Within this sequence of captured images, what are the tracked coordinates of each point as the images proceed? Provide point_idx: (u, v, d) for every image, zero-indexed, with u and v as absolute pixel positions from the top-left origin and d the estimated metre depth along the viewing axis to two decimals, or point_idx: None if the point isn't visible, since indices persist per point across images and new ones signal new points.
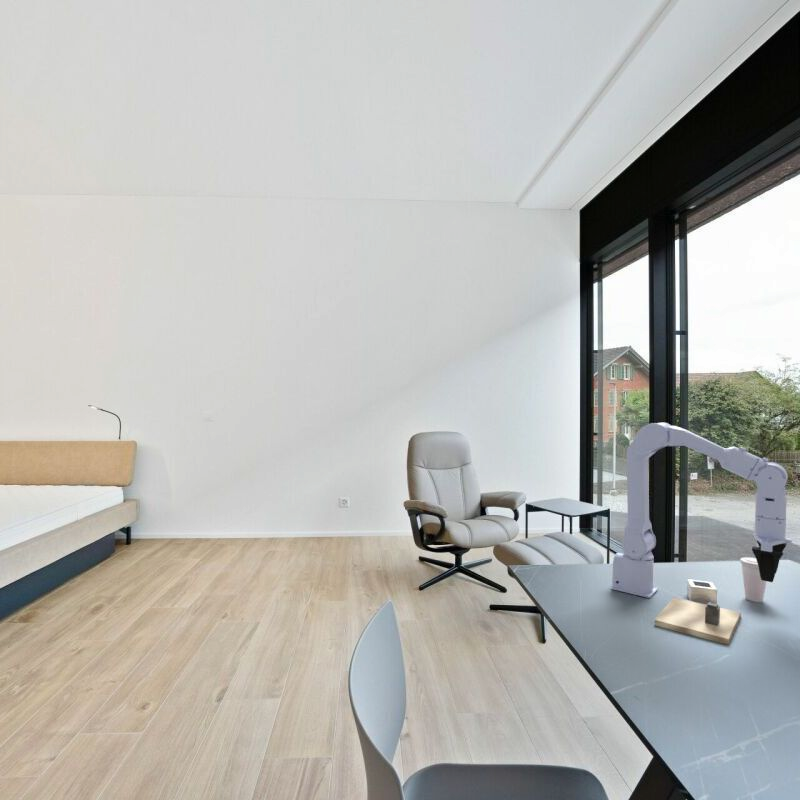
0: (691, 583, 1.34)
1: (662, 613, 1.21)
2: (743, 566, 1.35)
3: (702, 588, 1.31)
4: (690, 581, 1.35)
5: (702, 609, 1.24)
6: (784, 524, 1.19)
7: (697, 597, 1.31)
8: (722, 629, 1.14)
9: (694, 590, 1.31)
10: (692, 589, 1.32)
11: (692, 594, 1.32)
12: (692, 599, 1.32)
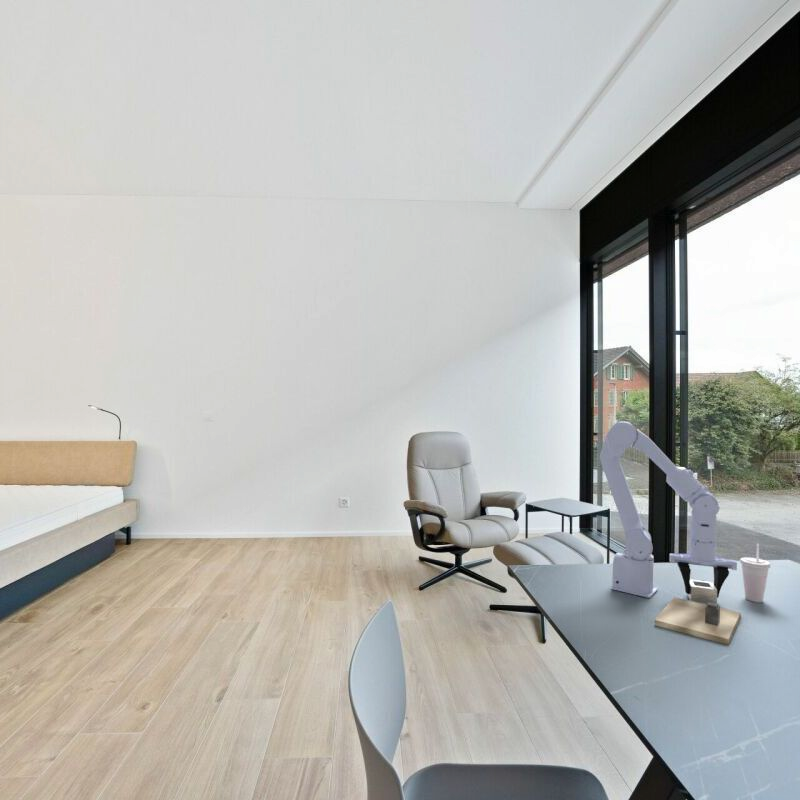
0: (691, 583, 1.34)
1: (662, 613, 1.21)
2: (743, 566, 1.35)
3: (702, 588, 1.31)
4: (690, 581, 1.35)
5: (702, 609, 1.24)
6: (701, 547, 1.31)
7: (697, 597, 1.31)
8: (722, 629, 1.14)
9: (694, 590, 1.31)
10: (692, 589, 1.32)
11: (692, 594, 1.32)
12: (692, 599, 1.32)
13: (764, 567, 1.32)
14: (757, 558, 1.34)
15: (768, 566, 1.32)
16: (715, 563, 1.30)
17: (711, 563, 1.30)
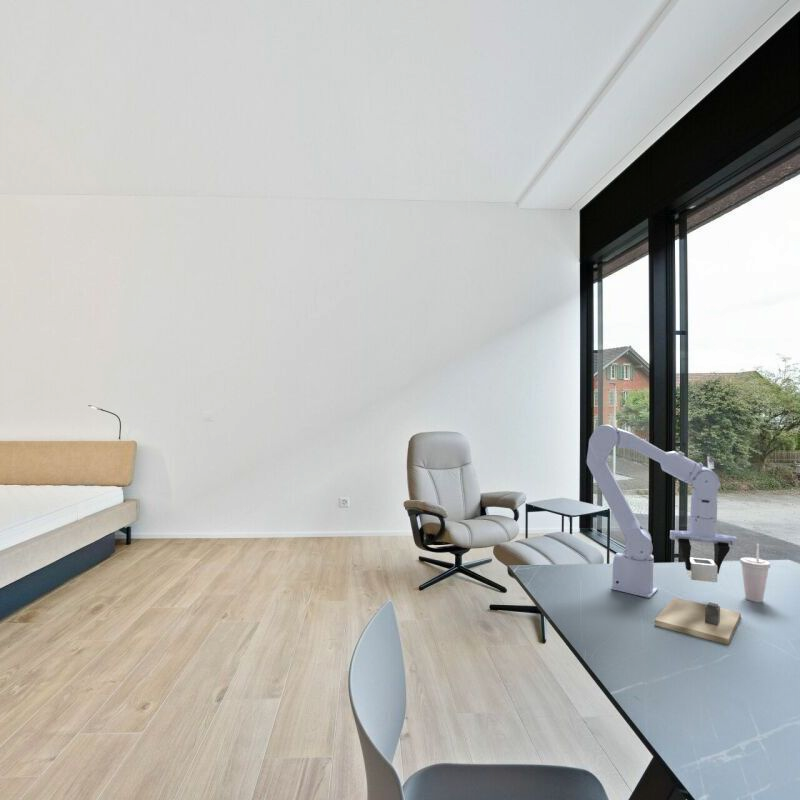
0: (691, 560, 1.34)
1: (662, 613, 1.21)
2: (743, 566, 1.35)
3: (702, 565, 1.31)
4: (690, 558, 1.35)
5: (702, 609, 1.24)
6: (701, 523, 1.31)
7: (698, 574, 1.31)
8: (722, 629, 1.14)
9: (694, 567, 1.31)
10: (692, 566, 1.32)
11: (692, 571, 1.32)
12: (692, 576, 1.31)
13: (764, 567, 1.32)
14: (757, 558, 1.34)
15: (768, 566, 1.32)
16: (716, 539, 1.30)
17: (712, 539, 1.30)
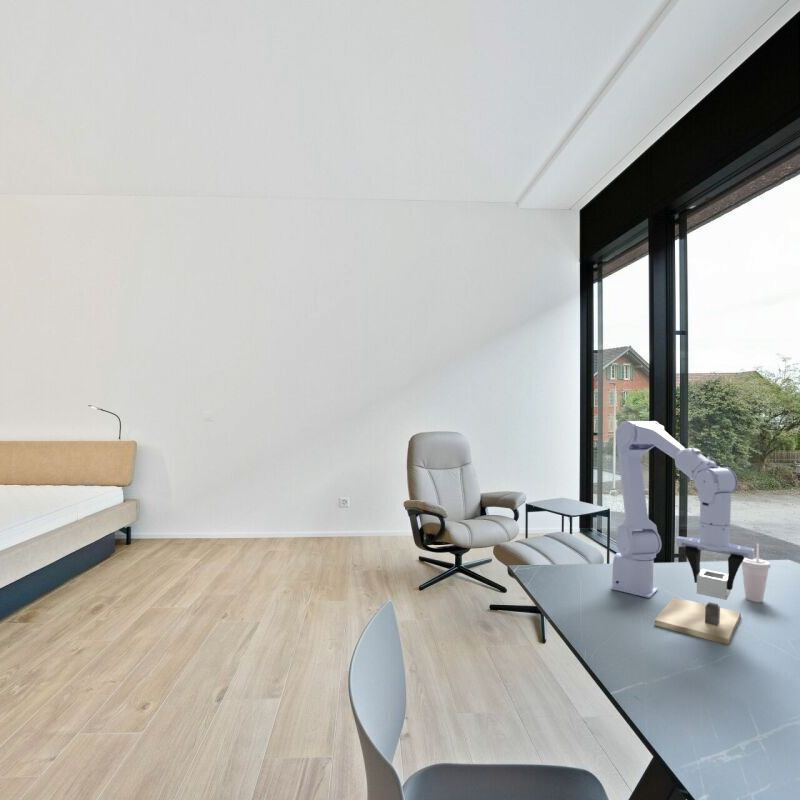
0: (701, 572, 1.19)
1: (662, 613, 1.21)
2: (743, 566, 1.35)
3: (709, 578, 1.15)
4: (703, 570, 1.20)
5: (702, 609, 1.24)
6: (708, 529, 1.15)
7: (704, 588, 1.16)
8: (722, 629, 1.14)
9: (700, 580, 1.16)
10: (698, 578, 1.17)
11: (698, 584, 1.17)
12: (698, 590, 1.17)
13: (764, 567, 1.32)
14: (757, 558, 1.34)
15: (768, 566, 1.32)
16: (725, 549, 1.14)
17: (719, 549, 1.14)
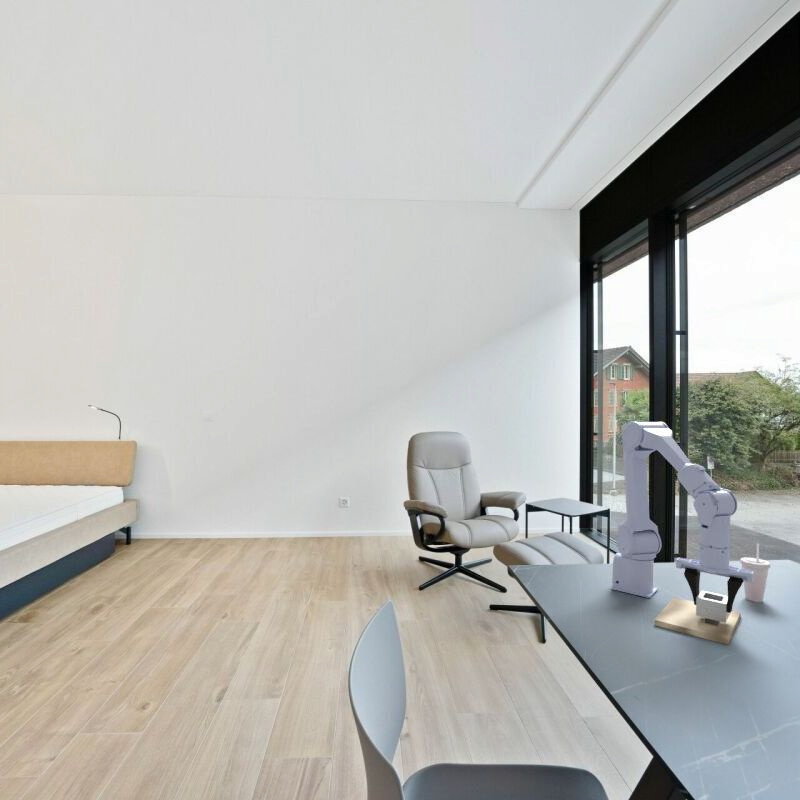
0: (700, 594, 1.19)
1: (662, 613, 1.21)
2: (743, 566, 1.35)
3: (709, 601, 1.15)
4: (702, 592, 1.20)
5: None
6: (707, 552, 1.15)
7: (704, 611, 1.16)
8: (722, 629, 1.14)
9: (700, 602, 1.16)
10: (697, 601, 1.17)
11: (697, 606, 1.17)
12: (697, 612, 1.17)
13: (764, 567, 1.32)
14: (757, 558, 1.34)
15: (768, 566, 1.32)
16: (724, 572, 1.14)
17: (719, 571, 1.14)
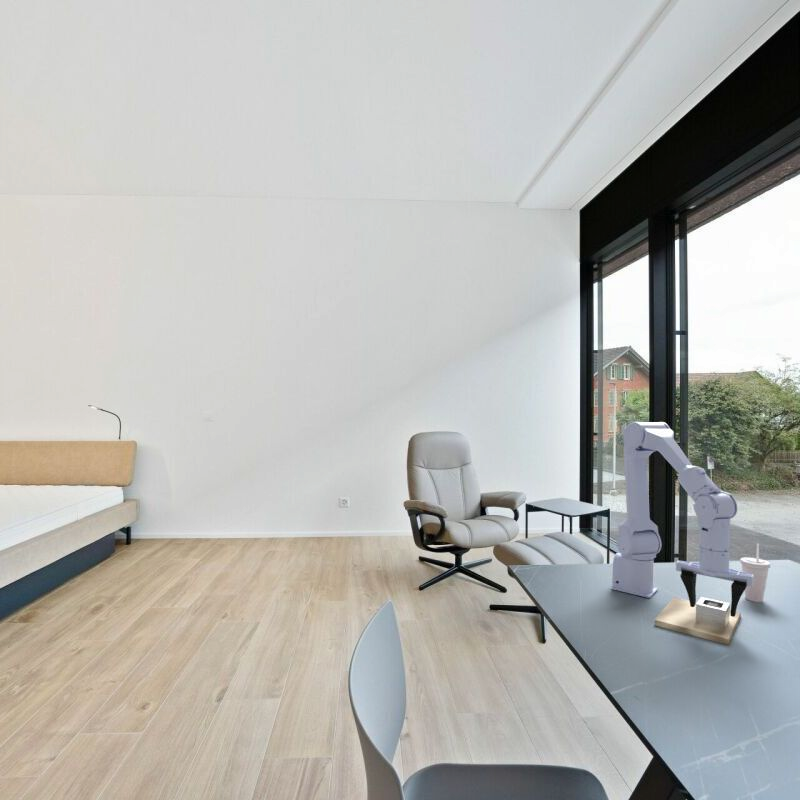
0: (700, 601, 1.19)
1: (662, 613, 1.21)
2: (743, 566, 1.35)
3: (708, 607, 1.16)
4: (702, 599, 1.20)
5: None
6: (707, 555, 1.15)
7: (703, 617, 1.16)
8: (722, 629, 1.14)
9: (699, 609, 1.17)
10: (697, 607, 1.17)
11: (697, 613, 1.17)
12: (697, 618, 1.17)
13: (764, 567, 1.32)
14: (757, 558, 1.34)
15: (768, 566, 1.32)
16: (724, 575, 1.14)
17: (719, 575, 1.14)
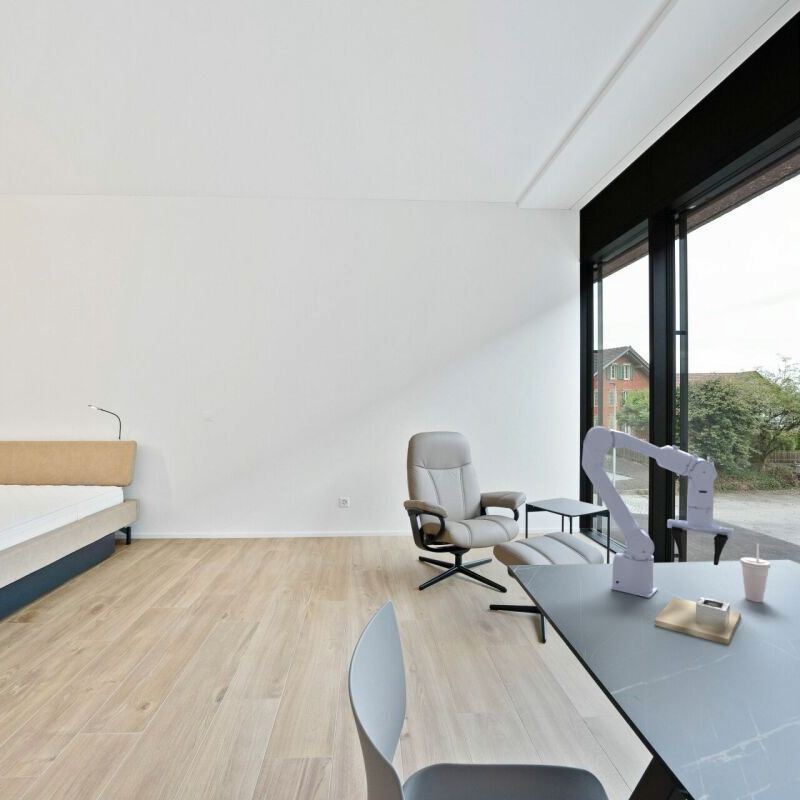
0: (700, 601, 1.19)
1: (662, 613, 1.21)
2: (743, 566, 1.35)
3: (708, 607, 1.16)
4: (702, 599, 1.20)
5: None
6: (693, 512, 1.33)
7: (703, 617, 1.16)
8: (722, 629, 1.14)
9: (699, 609, 1.17)
10: (697, 607, 1.17)
11: (697, 613, 1.17)
12: (697, 618, 1.17)
13: (764, 567, 1.32)
14: (757, 558, 1.34)
15: (768, 566, 1.32)
16: (708, 529, 1.31)
17: (703, 529, 1.32)
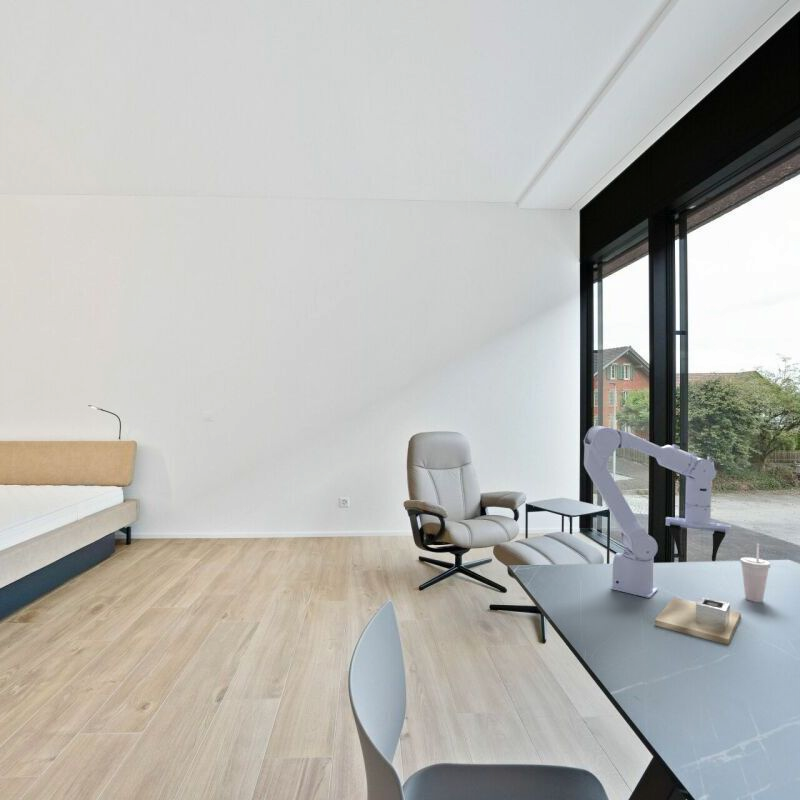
0: (700, 601, 1.19)
1: (662, 613, 1.21)
2: (743, 566, 1.35)
3: (708, 607, 1.16)
4: (702, 599, 1.20)
5: None
6: (692, 510, 1.36)
7: (703, 617, 1.16)
8: (722, 629, 1.14)
9: (699, 609, 1.17)
10: (697, 607, 1.17)
11: (697, 613, 1.17)
12: (697, 618, 1.17)
13: (764, 567, 1.32)
14: (757, 558, 1.34)
15: (768, 566, 1.32)
16: (707, 526, 1.34)
17: (702, 526, 1.35)
